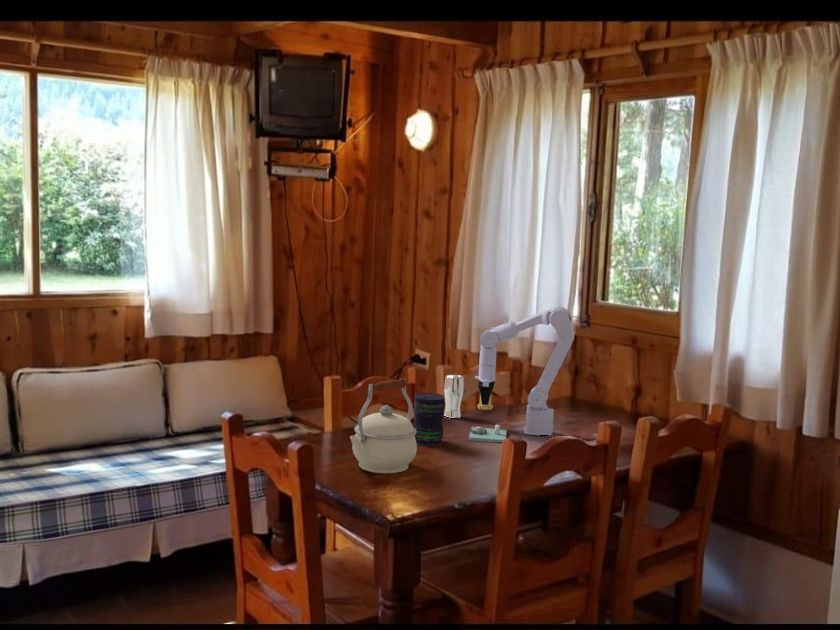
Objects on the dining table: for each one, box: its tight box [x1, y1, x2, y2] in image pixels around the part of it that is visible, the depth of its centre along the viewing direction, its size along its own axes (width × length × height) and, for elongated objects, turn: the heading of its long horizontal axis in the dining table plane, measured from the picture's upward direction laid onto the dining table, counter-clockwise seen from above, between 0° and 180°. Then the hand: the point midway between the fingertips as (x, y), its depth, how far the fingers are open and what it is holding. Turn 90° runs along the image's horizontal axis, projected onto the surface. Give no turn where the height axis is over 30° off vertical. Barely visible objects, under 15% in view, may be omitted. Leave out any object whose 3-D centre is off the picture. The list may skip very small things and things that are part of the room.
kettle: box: [349, 377, 418, 475], centre depth 234 cm, size 25×18×25 cm
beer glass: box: [443, 374, 465, 419], centre depth 301 cm, size 7×7×15 cm
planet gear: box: [476, 393, 494, 411], centre depth 287 cm, size 5×5×5 cm
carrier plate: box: [468, 424, 507, 443], centre depth 276 cm, size 12×14×4 cm
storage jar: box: [412, 392, 446, 447], centre depth 265 cm, size 10×10×15 cm
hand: (485, 403), depth 287 cm, fingers closed on planet gear, 4 cm apart
